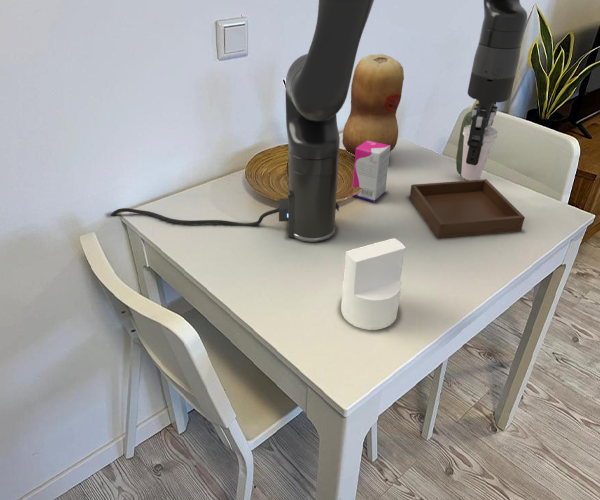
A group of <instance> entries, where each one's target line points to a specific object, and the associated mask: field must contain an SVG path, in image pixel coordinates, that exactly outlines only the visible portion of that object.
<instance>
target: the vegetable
mask: <svg viewBox="0 0 600 500" xmlns="http://www.w3.org/2000/svg"><path fill="white" fill-rule="evenodd" d="M476 103H478V104H479V101H478V100H476V99H475V100H474V102H473V104H472V107H471V109H470V111H468V112H467V113H466V114H465V115H464V117H463V119H462V122H461V125H460V130H459V131H460V132H459V138H458V144H457V151H456V156H455V166H456V172H457V174H458V175H459V177H461V179H463V180H464V181H467V179H465V178H463V177H462V176H461V170H462V156H463V142H464V135H463V130H464V127H466V126H468V125H471V121H472V112H473V108H474V107H475V105H476Z"/></svg>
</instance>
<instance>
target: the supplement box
mask: <svg viewBox="0 0 600 500" xmlns="http://www.w3.org/2000/svg"><path fill="white" fill-rule="evenodd" d="M390 153H391V151H390V145H386V144H381V143H377V142H373V141H368V140H367V141H366V142H364V143H363V144H361V145H360V146H358V147H357V148H356V151H355V158H354V167H353V178H352V179H353V180H352V188H353V187H360V188H362V190H361V192H360V193H358V194H356V195H354V196H353V197H354V198H358V199H361V200H364V201H367V202H371V203H376V202H377V201H378V200H379V199H380V198H382V196H383V195H384V194H386V189H387V180H388V172H389V161H390Z"/></svg>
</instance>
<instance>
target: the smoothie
mask: <svg viewBox="0 0 600 500" xmlns="http://www.w3.org/2000/svg"><path fill="white" fill-rule="evenodd" d="M486 128H487V127H486ZM486 128H485V129H486ZM469 129H470V125H468V126H466V127H464V130H463V135H464V142H463V156H462V170H461V176H462V177H463V178H465V179H466V181H469V180H481V177H482V173H483V171H484V169H485V166H486V163H487V161H488V158H489V156H490V153H491V151H492V147H493V145H494V142H495V141H496V140H497V139H498V135H499V132H498V130H496V128H493V127H492V126H491V127H490V130H489V133H488V135H486V136H485V138H484V141H483V143H484V144H483V146H482V148H481V152H480V157H479V161H478V164H477V165H470V164H467V163H466V158H467V154H468V149H469V146H467V141H468V139H469V134H470V131H469ZM473 139H474V140H479V141H480V136H475V135H474V137H473ZM461 176H460V177H461ZM462 177H461V178H462ZM463 178H462V179H463ZM465 179H464V180H465Z"/></svg>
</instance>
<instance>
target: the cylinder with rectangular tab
mask: <svg viewBox="0 0 600 500" xmlns="http://www.w3.org/2000/svg"><path fill="white" fill-rule="evenodd" d="M405 252H406V246H405V245H404V244H403V243H402V242H401V241H400V240H398V239H397V238H395V237H393V238H389V239H385V240H382V241H379V242H375V243H371V244H368V245H363V246H361V247H356V248H353V249H349V250H346V251H345V262H344V275H343V278H342V288H341V289H342V290H341V302H340V303H341V305H340V311H341V315H342V316H343V318H344V320H345V321H346V322H348V323H349V324H351V325H352V326H354V327H356V328H358V329H362V330H368V331H377V330H378V331H379V330H382V329H385V328H387V327H389V326H391V325H392V324H393V323H394V322H395V321H396V319H397V316H398V310H399V303H400V296H401V291H402V272H403V265H404V258H405Z"/></svg>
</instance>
